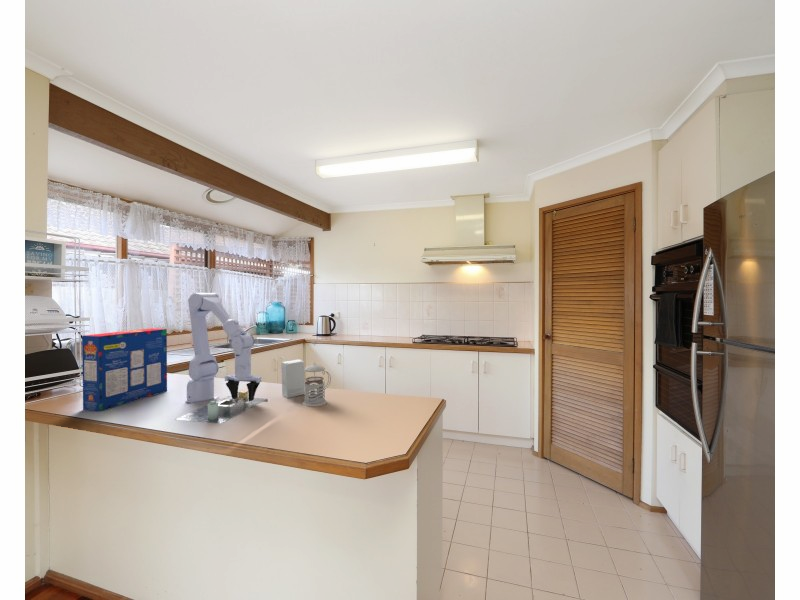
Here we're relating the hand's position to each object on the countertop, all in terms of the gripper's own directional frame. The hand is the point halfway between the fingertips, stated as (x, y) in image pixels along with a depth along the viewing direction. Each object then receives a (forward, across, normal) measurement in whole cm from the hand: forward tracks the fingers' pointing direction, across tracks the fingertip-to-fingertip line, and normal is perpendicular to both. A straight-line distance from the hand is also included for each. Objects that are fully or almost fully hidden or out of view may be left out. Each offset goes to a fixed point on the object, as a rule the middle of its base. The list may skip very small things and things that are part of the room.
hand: (243, 399), depth 134 cm
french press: (+3, +26, +10) cm, 28 cm away
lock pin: (+1, 0, -4) cm, 4 cm away
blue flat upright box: (+3, -51, -2) cm, 51 cm away
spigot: (+1, 0, -16) cm, 16 cm away
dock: (+2, -3, -6) cm, 7 cm away
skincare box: (+3, +12, +17) cm, 21 cm away
